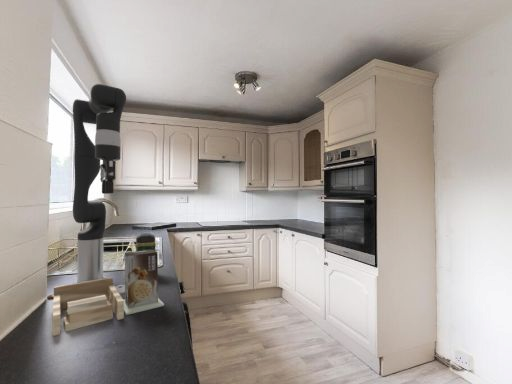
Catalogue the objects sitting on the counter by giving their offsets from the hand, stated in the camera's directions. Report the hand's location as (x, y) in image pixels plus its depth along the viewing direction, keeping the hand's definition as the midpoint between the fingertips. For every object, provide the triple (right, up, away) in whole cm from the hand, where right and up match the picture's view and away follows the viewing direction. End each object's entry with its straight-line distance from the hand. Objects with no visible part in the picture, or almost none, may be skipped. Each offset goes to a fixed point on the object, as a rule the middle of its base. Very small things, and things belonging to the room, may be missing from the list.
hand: (107, 193), depth 90 cm
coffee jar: (+1, -37, +28) cm, 46 cm away
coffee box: (+13, -35, -4) cm, 38 cm away
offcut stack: (+4, -36, -16) cm, 39 cm away
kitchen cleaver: (-9, -37, +5) cm, 38 cm away
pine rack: (0, -35, -11) cm, 37 cm away
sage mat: (+13, -36, -4) cm, 38 cm away
